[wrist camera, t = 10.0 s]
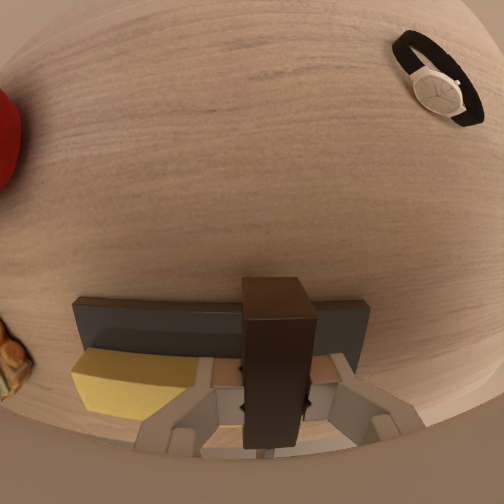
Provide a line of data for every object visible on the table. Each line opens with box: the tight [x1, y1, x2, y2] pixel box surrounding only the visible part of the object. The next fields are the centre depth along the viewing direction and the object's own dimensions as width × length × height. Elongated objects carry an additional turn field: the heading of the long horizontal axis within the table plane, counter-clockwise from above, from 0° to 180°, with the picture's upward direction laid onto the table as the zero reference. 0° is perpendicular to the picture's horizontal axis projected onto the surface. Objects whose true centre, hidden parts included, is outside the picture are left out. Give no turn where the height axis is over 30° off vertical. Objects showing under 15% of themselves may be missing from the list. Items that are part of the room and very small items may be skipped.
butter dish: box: [72, 297, 371, 421], centre depth 18 cm, size 19×10×1 cm, turn 89°
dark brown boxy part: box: [242, 277, 319, 459], centre depth 10 cm, size 2×12×3 cm, turn 179°
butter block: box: [70, 347, 242, 428], centre depth 16 cm, size 11×4×3 cm, turn 89°
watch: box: [392, 30, 484, 127], centre depth 12 cm, size 8×5×4 cm, turn 57°
